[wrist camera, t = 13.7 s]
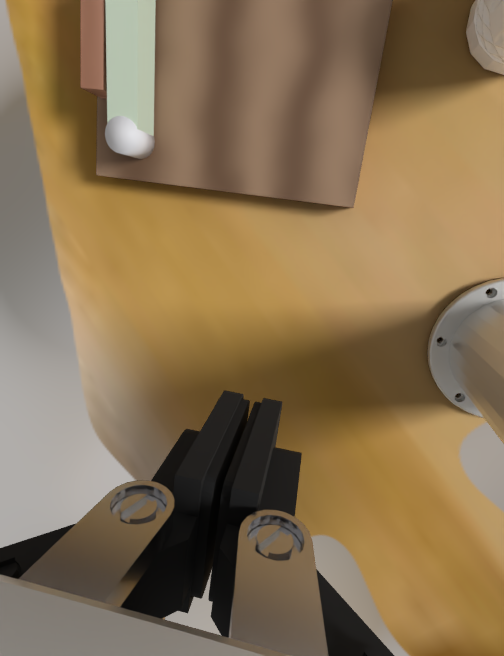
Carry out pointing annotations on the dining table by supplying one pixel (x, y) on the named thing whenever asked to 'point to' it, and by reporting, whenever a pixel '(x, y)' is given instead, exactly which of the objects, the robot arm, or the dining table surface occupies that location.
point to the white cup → (487, 34)
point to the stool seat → (251, 95)
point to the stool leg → (130, 76)
